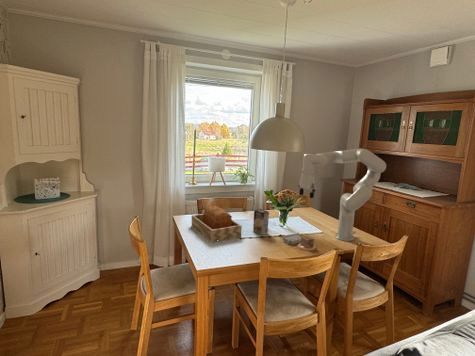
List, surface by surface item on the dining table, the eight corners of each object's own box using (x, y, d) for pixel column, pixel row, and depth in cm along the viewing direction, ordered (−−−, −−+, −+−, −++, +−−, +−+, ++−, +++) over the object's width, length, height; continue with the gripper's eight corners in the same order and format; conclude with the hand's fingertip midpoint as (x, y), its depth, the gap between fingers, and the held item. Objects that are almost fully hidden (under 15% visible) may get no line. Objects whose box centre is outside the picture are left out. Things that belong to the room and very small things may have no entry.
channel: (298, 236, 197) (298, 232, 197) (307, 240, 189) (307, 237, 189) (282, 239, 190) (282, 236, 189) (291, 244, 182) (291, 240, 182)
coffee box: (252, 231, 202) (253, 210, 200) (258, 229, 207) (259, 208, 204) (262, 235, 196) (263, 213, 193) (268, 233, 201) (269, 211, 198)
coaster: (306, 242, 186) (306, 241, 186) (319, 248, 177) (319, 247, 177) (294, 245, 181) (294, 244, 181) (306, 252, 172) (306, 251, 171)
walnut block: (307, 243, 183) (307, 235, 182) (313, 246, 178) (314, 238, 177) (300, 245, 180) (301, 237, 179) (306, 248, 175) (307, 240, 174)
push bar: (296, 239, 193) (296, 234, 192) (301, 241, 189) (302, 237, 188) (283, 242, 186) (283, 238, 186) (288, 245, 182) (289, 240, 182)
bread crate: (218, 221, 221) (218, 211, 220) (241, 236, 192) (241, 225, 191) (191, 225, 210) (191, 215, 208) (211, 242, 181) (211, 230, 179)
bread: (215, 237, 190) (216, 214, 188) (201, 224, 213) (201, 204, 210) (233, 234, 197) (234, 212, 194) (218, 222, 219) (218, 203, 217)
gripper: (295, 170, 198) (293, 194, 201) (313, 174, 183) (311, 199, 186) (303, 169, 202) (301, 193, 205) (321, 173, 187) (319, 198, 190)
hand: (306, 196), depth 195 cm, fingers open, 9 cm apart
